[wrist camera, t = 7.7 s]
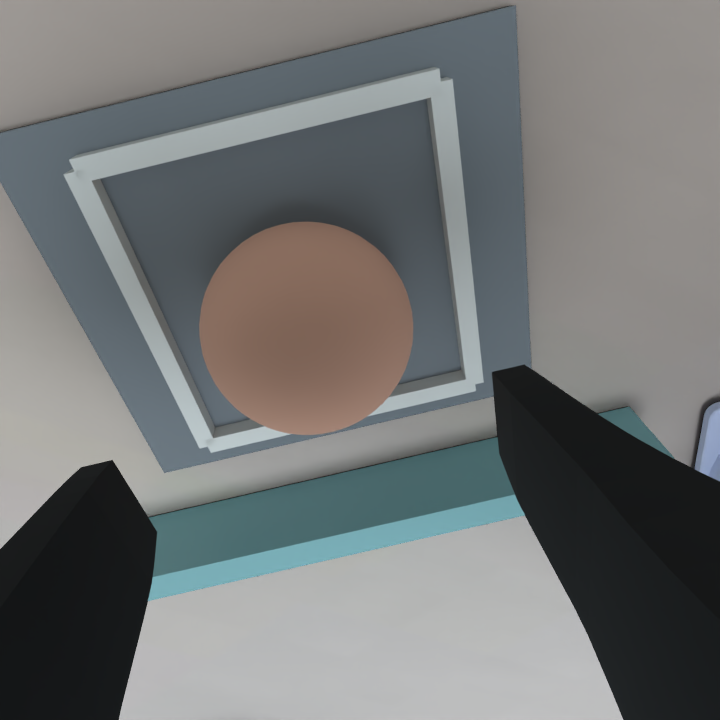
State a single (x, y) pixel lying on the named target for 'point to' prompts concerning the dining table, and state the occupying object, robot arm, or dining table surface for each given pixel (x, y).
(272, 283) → the ball
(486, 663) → the dining table surface
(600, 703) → the dining table surface
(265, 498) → the acrylic wall
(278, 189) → the rubber mat
